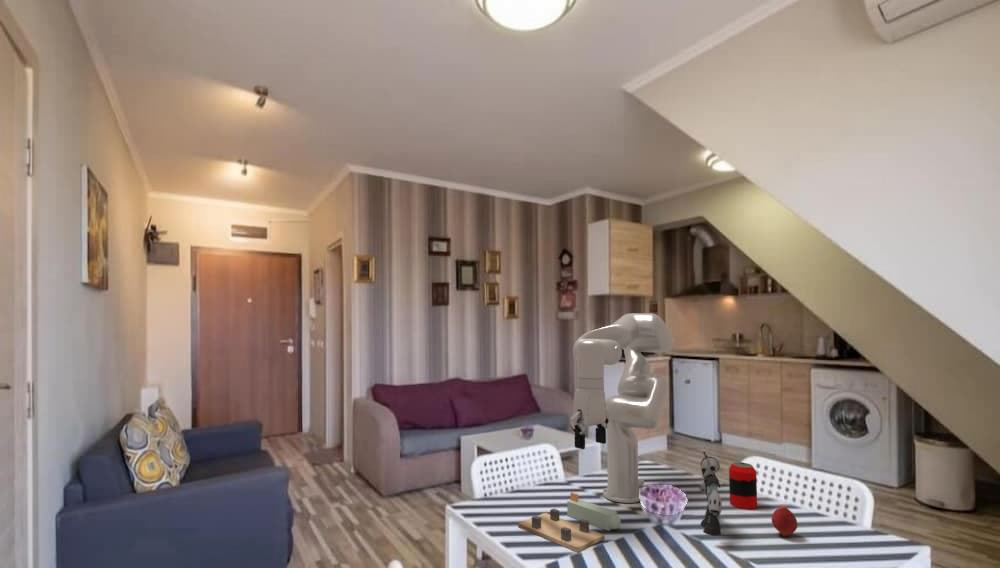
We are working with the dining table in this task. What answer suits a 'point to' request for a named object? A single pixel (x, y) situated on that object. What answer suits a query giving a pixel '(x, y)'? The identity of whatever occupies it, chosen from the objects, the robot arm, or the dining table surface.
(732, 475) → the soda can
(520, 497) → the dining table surface
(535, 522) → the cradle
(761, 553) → the dining table surface
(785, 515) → the onion
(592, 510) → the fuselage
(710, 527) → the robot
